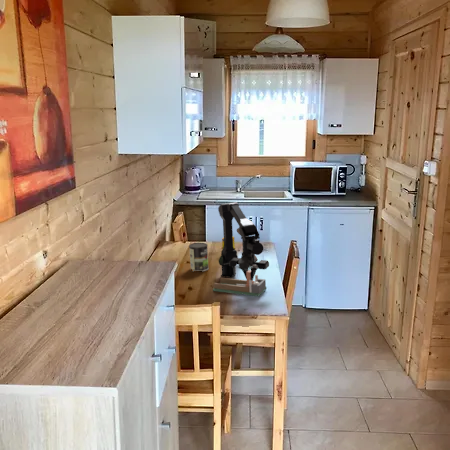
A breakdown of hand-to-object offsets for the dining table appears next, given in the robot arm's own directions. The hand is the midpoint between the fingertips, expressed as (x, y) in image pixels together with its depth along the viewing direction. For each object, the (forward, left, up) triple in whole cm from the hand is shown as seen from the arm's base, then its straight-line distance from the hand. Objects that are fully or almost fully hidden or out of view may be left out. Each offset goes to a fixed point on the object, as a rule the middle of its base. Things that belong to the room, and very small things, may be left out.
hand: (249, 280), depth 238 cm
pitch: (-5, 0, -6) cm, 8 cm away
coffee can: (-39, +23, -6) cm, 46 cm away
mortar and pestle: (-18, +45, -6) cm, 49 cm away
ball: (+3, 0, -2) cm, 4 cm away
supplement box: (-34, +53, -6) cm, 63 cm away
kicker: (-3, 0, -4) cm, 5 cm away
